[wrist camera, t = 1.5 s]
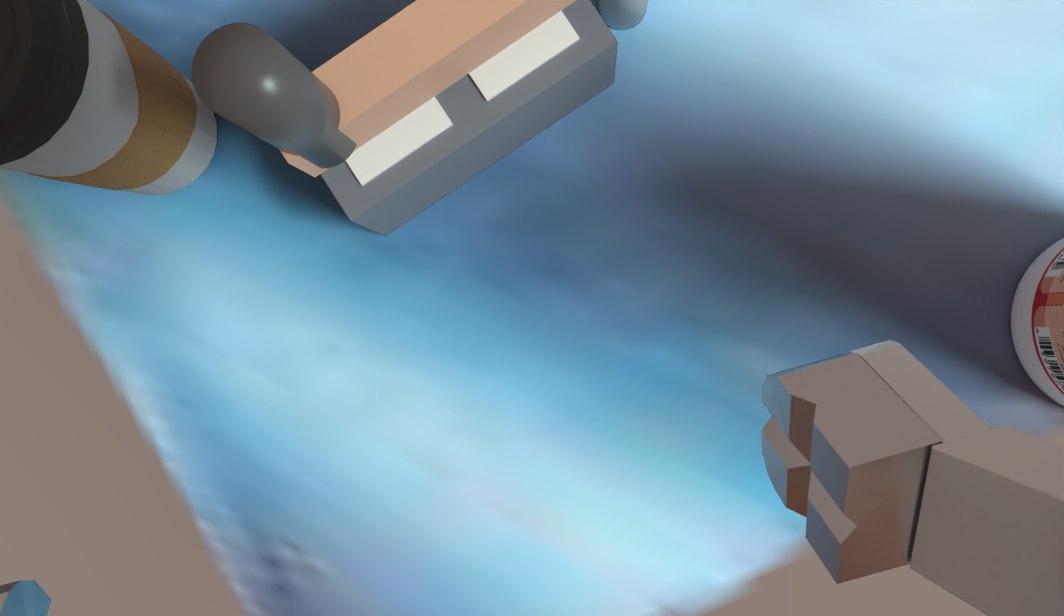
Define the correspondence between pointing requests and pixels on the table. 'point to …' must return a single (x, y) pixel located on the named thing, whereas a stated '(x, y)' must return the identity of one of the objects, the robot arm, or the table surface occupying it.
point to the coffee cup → (95, 102)
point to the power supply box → (483, 115)
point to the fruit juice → (1042, 321)
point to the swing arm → (354, 74)
